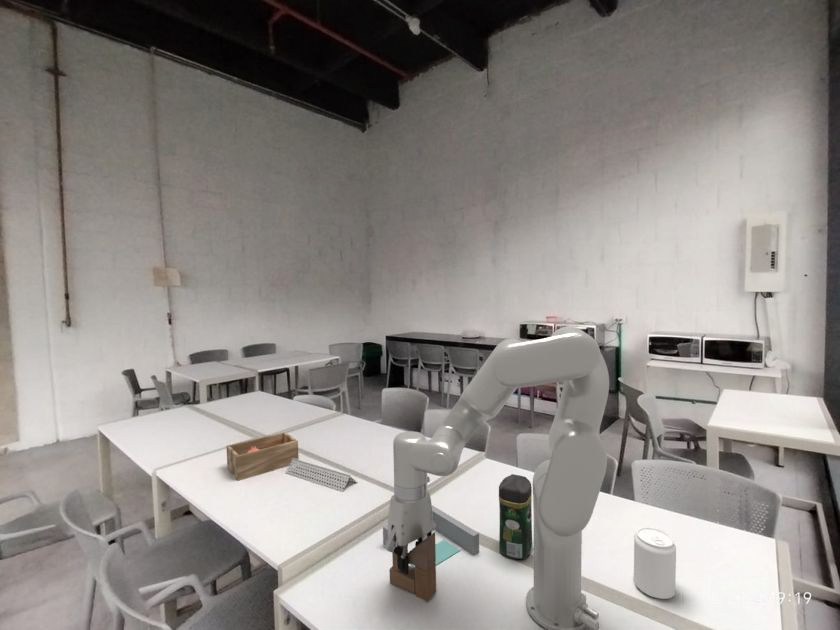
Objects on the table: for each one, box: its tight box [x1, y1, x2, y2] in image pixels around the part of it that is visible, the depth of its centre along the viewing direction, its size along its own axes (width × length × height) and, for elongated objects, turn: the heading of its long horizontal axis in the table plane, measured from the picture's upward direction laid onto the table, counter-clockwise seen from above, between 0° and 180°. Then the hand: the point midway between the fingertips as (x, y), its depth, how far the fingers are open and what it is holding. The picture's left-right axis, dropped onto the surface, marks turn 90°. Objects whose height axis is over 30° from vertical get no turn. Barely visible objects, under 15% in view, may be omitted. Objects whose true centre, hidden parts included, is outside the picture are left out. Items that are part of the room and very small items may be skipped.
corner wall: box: [382, 505, 480, 556], centre depth 105 cm, size 19×17×5 cm
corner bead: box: [284, 458, 358, 493], centre depth 147 cm, size 29×9×5 cm, turn 59°
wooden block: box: [389, 532, 437, 602], centre depth 91 cm, size 4×11×18 cm, turn 56°
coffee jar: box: [498, 473, 533, 560], centre depth 104 cm, size 10×8×19 cm
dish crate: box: [226, 431, 300, 482], centre depth 158 cm, size 14×23×9 cm, turn 130°
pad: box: [409, 539, 461, 568], centre depth 102 cm, size 6×13×1 cm, turn 130°
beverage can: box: [633, 527, 677, 600], centre depth 90 cm, size 8×8×12 cm
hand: (412, 565), depth 91 cm, fingers closed on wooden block, 4 cm apart
